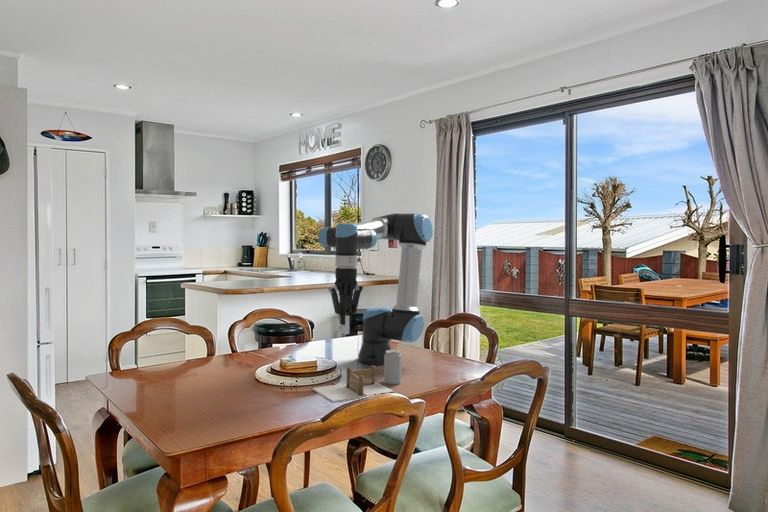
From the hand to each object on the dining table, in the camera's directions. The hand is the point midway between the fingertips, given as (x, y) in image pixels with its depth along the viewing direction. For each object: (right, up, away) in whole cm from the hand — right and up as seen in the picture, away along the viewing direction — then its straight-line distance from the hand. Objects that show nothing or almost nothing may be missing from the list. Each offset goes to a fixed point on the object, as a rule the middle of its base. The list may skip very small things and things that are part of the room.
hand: (345, 333), depth 192 cm
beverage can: (+17, -20, +12) cm, 29 cm away
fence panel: (+4, -20, -3) cm, 20 cm away
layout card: (+3, -20, 0) cm, 21 cm away
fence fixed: (+5, -20, +5) cm, 22 cm away
